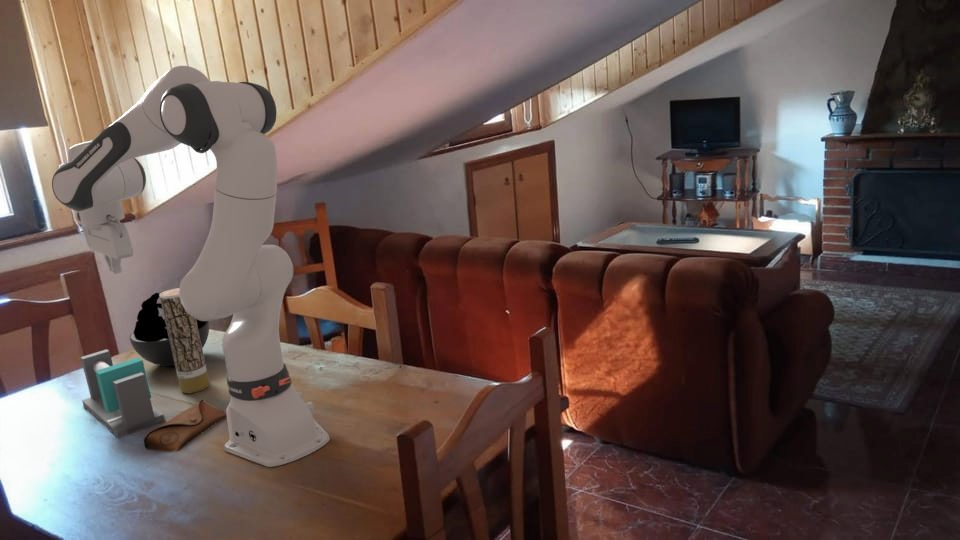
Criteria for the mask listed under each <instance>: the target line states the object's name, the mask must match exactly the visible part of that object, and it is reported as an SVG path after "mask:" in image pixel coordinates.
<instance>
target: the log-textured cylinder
mask: <svg viewBox="0 0 960 540" xmlns="http://www.w3.org/2000/svg"><path fill="white" fill-rule="evenodd" d="M179 288H180V287H177V288H176V287H175V288H172V289H168V290H165V291H163V292H161V293H160V297H159V300H160V303H161V304H162V309H161V310H162V313H163V317H164V318H163V319H165V322H166V327H167V331H168V336H169V340H170V345H171V349H172V354H173V358H174V363H175V365H174V367H175V371H176V376H177V380H178V384H179V389H180V391H181V392H182V393H184V394H192V393H193V394H194V393H199V392H201V391H204V390H205V389H207V388H208V387H209V385H210V380H209V374H208V371H207V370H208V369H207V365H206V360H205V355H204V350H203V348H202V345H201V340H200V336H199V331H198V326H197V321H196V319H195V318H194V317H192V316H191V315H190V314H189V313H188V312H187V311H186V310H185V309H184V307H183V305H182V303H181V300H180V295H179Z"/></svg>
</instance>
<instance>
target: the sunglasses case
mask: <svg viewBox="0 0 960 540" xmlns="http://www.w3.org/2000/svg"><path fill="white" fill-rule="evenodd" d="M225 417H226V418H227V415H226V411H223V410H221V409H219V408H217V407H216V406H214V405H212V404H210V403H208V402H206V401H204V399H200V401H199V400H198V402H197V403H196V404H194V405H193V406H190V407H189V408H187V409H186V410H184V411H181V412H180V413H179V414H177V415H176V416H174V417H172V418H171V419H169V420H168V421H166V422H165V423H163V424H162V425H160V426H159V427H156V428H154V429H153V430H151V431H149V432H148V433H147V434H146V435H145V436H144V439H143V446H144V447H145V449H146V450H147V451H157V452H158V451H159V452H160V451H161V452H168V453H169V452H172V453H177V452H179V451H180V450H181V449H182V448H183V447H185V446H186V445H187V444H188V442H189V443H190V442H191V441H192V440H194V439H195V438H197V437H198V436H200V435H201V434H202V432H203V433H205V430H206V431H207V430H209V429H210V428H211V426H212V425H213V426H214V424H215V423H216V424H217V423H220V422H221V421H222V420H224V419H225ZM220 420H221V421H220ZM216 424H215V425H216ZM213 426H212V427H213ZM208 428H209V429H208ZM173 451H174V452H173Z"/></svg>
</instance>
